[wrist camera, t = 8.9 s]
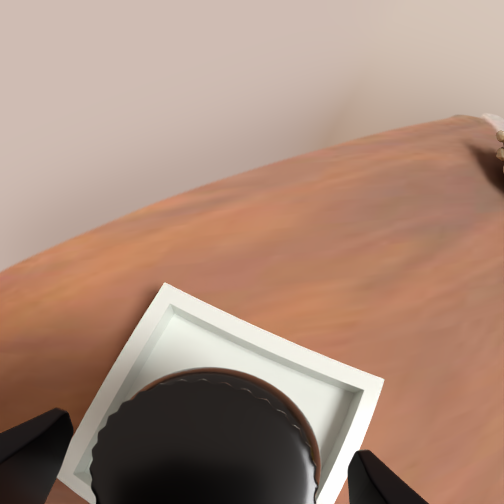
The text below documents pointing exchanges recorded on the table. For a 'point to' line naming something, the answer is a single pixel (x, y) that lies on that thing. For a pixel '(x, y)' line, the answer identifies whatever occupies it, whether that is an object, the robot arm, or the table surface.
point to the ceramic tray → (238, 358)
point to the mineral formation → (501, 152)
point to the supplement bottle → (206, 444)
